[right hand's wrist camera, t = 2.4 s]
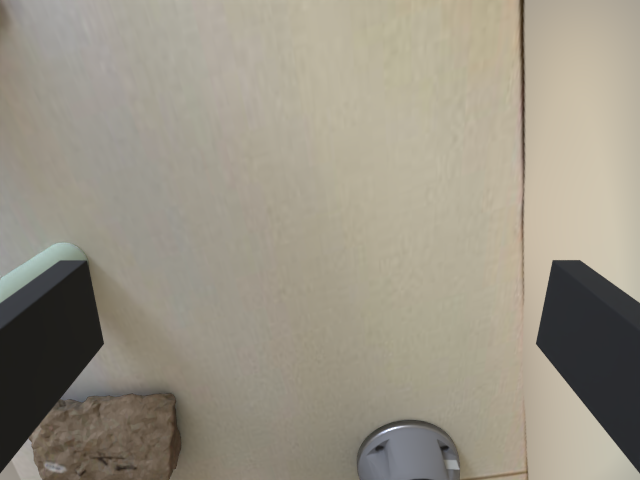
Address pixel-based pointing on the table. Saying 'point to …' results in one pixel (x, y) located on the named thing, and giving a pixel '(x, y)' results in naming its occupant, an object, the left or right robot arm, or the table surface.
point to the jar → (38, 267)
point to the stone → (108, 439)
